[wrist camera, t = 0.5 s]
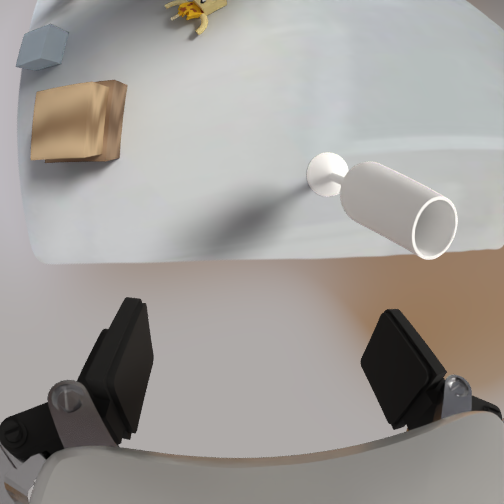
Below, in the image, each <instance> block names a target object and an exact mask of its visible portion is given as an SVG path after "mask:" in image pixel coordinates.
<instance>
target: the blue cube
mask: <svg viewBox="0 0 504 504" xmlns="http://www.w3.org/2000/svg"><path fill="white" fill-rule="evenodd" d="M68 34H69V32H67V31H65V30H63V29H61V28H59V27H56V26H54V25H52V24H49V25H46V26H43V27H41V28H38V29H36V30H33V31H31V32H28V33H26V34H25V35H24V37H23V41H22V44H21V48H20V51H19V56H18V59H17V64H16V67H19V68H25V69H30V70H35V71H37V70H40V69H43V68H47V67H50V66H54V65H58V64H61V62H62V57H63V53H64V49H65V45H66V41H67V38H68Z"/></svg>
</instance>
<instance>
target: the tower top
mask: <svg viewBox="0 0 504 504" xmlns="http://www.w3.org/2000/svg"><path fill="white" fill-rule="evenodd" d="M108 94H109V87H107V86H104V85H101V84H98V83H95V82H86V83H79V84H73V85H67V86H62V87H57V88H52V89H47V90H43V91H39V92H37V93H36V100H35V107H34V115H33V125H32V139H31V160H42V159H59V158H85V157H90V156H95V155H100V154H102V148H103V135H104V125H105V116H106V108H107V100H108Z"/></svg>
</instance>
